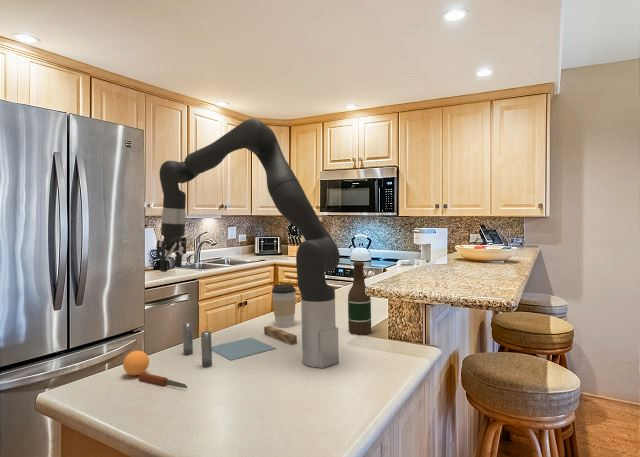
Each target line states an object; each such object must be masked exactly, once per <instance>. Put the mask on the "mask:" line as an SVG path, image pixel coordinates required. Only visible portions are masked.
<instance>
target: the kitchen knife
mask: <svg viewBox="0 0 640 457" xmlns="http://www.w3.org/2000/svg"><path fill="white" fill-rule="evenodd" d="M138 380H139V381H140V382H142V383H147V384H153V385H158V386H162V387H167V386H171V387H177V388H182V389H188V386H187V384H185V383H182V382H179V381H175V380H172V379H168V377H164V376H160V375H156V374H151V373H146V372H143V373H142V374H140V375H138Z"/></svg>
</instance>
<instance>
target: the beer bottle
mask: <svg viewBox="0 0 640 457" xmlns="http://www.w3.org/2000/svg"><path fill="white" fill-rule="evenodd" d="M352 266H353V279H352V280H353V281H352V286H351V287H350V289H349V291H348V295H347V310H348V311H347V313H348V315H347V319H348V321H347V322H348V332H349V333H350V334H351V335H355V336H367V335H368V334H371V333H372V300H371V295H370V296H367V295H366V294H365V288H366V287H367V286H366V280H365V272H364V266H365V263H364V262H363V261H354V262H353V263H352Z"/></svg>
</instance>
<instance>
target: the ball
mask: <svg viewBox="0 0 640 457" xmlns="http://www.w3.org/2000/svg"><path fill="white" fill-rule="evenodd" d="M122 362H123V363H122V364H123V366H122V367H123V370H124V371H125V373H126V374H128V375H130V376H139V375H140V374H142V373H145V372H146V371H147V369H148V368H149V365H150V357H149V356H148V355H147V353H145V352H144V351H142V350H134V351H131V352H130V353H128V354H127V355H126V356H125V358H124V360H123V361H122Z"/></svg>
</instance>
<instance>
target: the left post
mask: <svg viewBox="0 0 640 457" xmlns="http://www.w3.org/2000/svg"><path fill="white" fill-rule="evenodd" d="M193 340H194V338H193V322H192V321H191V322H190V321H188V322H187V321H186V322H183V323H182V343H183V346H182V347H183V355H184V356H191V355H193V353H194V349H193V348H194V347H193V345H194V344H193V343H194V341H193Z"/></svg>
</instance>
